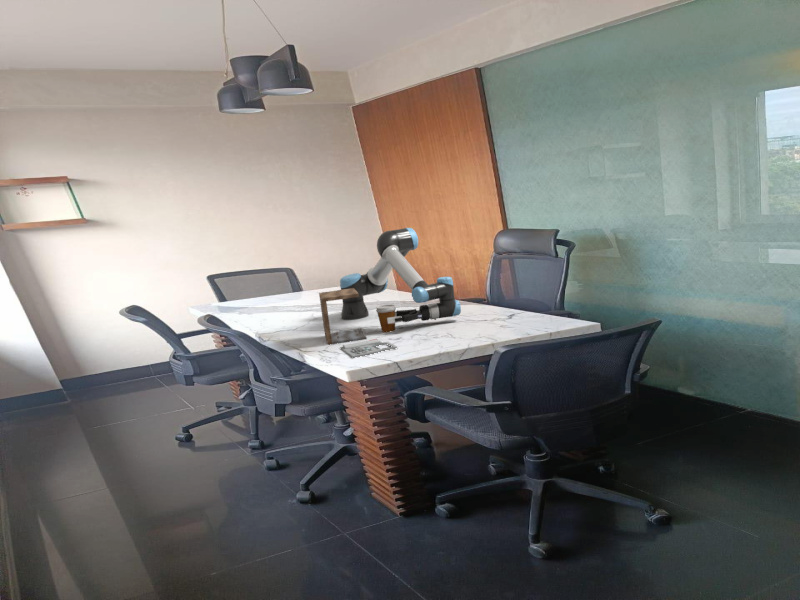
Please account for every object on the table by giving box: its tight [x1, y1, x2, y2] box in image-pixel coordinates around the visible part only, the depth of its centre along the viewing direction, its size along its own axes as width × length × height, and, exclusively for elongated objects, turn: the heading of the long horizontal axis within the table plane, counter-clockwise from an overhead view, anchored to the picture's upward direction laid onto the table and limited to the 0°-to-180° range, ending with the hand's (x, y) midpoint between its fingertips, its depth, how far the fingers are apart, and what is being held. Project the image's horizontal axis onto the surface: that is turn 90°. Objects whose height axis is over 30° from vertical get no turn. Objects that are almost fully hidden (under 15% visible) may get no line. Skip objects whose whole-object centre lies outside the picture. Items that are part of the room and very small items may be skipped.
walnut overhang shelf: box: [318, 288, 368, 346], centre depth 319 cm, size 18×22×22 cm
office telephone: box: [339, 338, 398, 359], centre depth 291 cm, size 23×3×20 cm
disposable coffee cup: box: [375, 304, 396, 333], centre depth 323 cm, size 10×10×12 cm
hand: (385, 318), depth 323 cm, fingers open, 13 cm apart
